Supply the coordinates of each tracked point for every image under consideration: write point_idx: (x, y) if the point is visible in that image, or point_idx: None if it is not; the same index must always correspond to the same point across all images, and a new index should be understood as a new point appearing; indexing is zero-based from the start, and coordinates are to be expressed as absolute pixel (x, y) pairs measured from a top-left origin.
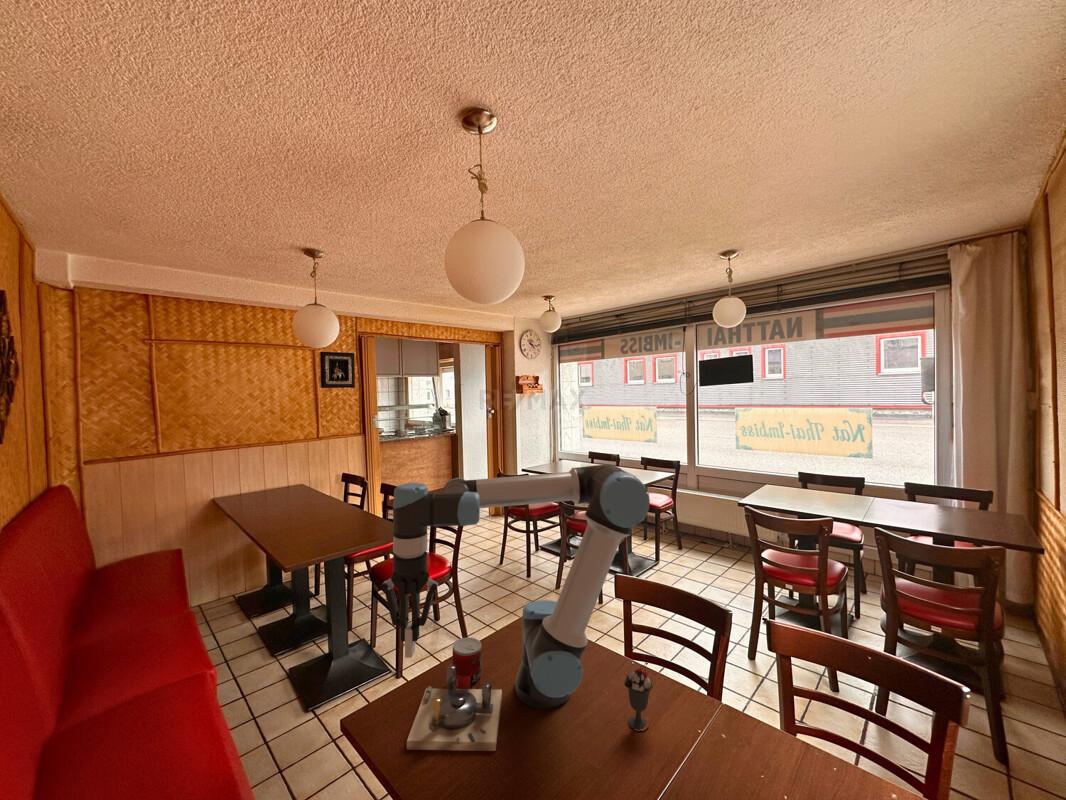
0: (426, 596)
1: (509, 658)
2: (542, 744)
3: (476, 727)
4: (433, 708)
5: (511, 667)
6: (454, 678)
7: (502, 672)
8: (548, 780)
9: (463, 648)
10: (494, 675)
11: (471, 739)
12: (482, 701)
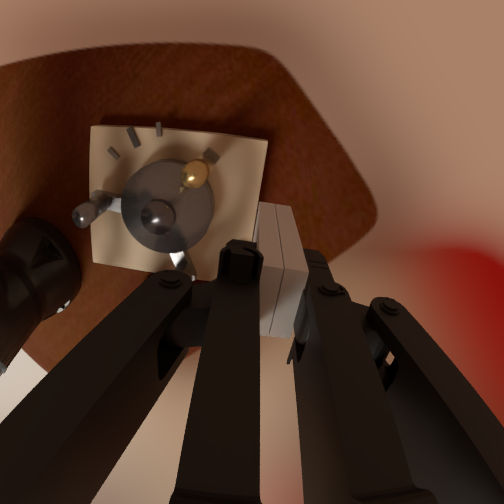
0: (30, 482)
1: None
2: (34, 141)
3: (126, 164)
4: (202, 162)
5: (97, 323)
6: None
7: None
8: (32, 74)
9: None
10: None
11: (132, 130)
12: (103, 201)
